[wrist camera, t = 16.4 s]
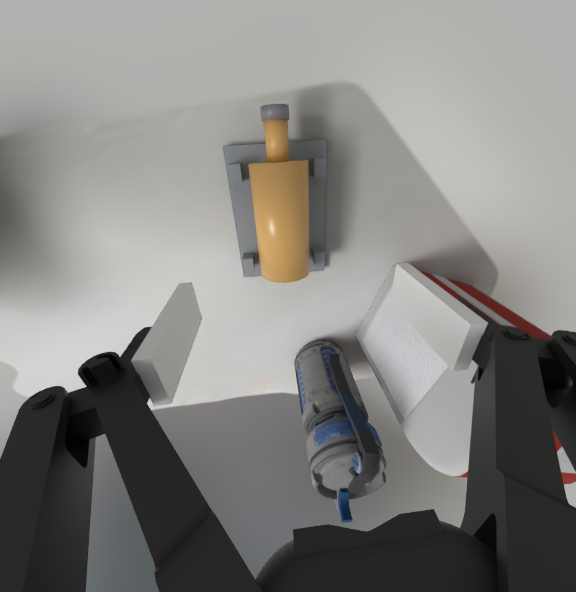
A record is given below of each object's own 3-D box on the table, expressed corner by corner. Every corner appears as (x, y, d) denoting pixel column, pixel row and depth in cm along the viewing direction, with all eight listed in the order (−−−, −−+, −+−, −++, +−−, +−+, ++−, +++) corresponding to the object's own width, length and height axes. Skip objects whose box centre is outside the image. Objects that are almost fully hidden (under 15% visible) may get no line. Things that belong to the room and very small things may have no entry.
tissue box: (427, 352, 53) (555, 507, 30) (353, 337, 49) (433, 502, 26) (476, 285, 46) (698, 424, 22) (393, 262, 42) (557, 400, 18)
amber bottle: (303, 260, 39) (315, 278, 33) (259, 264, 39) (263, 285, 33) (300, 110, 30) (314, 98, 24) (241, 112, 29) (241, 101, 23)
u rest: (322, 267, 41) (327, 276, 38) (244, 274, 41) (242, 284, 38) (325, 139, 32) (331, 138, 29) (223, 146, 32) (219, 145, 28)
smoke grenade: (352, 330, 48) (424, 472, 27) (334, 377, 55) (379, 524, 33) (301, 325, 47) (334, 472, 25) (288, 374, 53) (306, 527, 31)
